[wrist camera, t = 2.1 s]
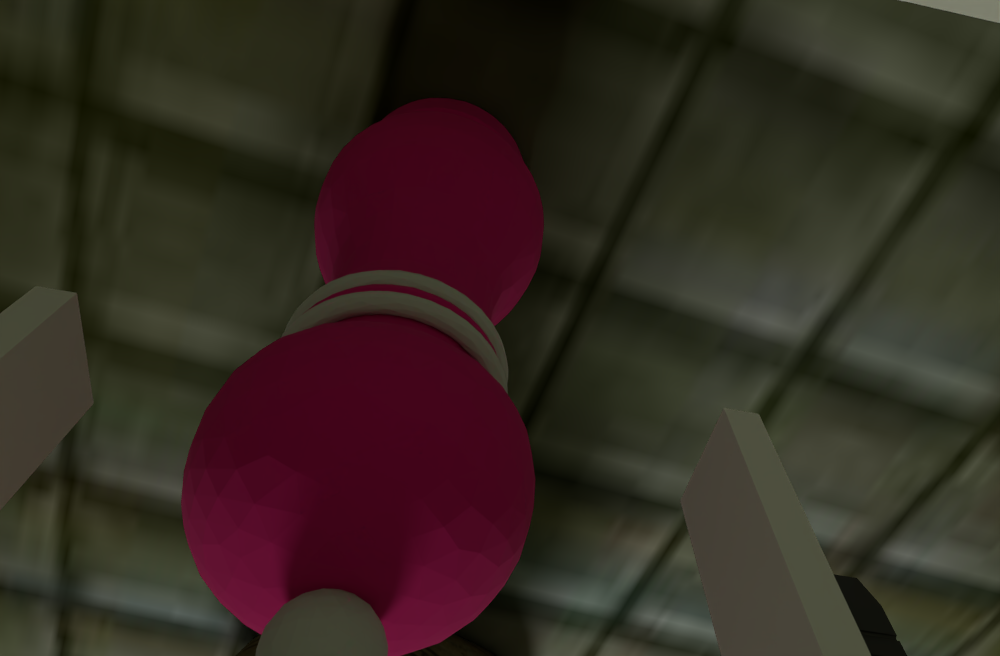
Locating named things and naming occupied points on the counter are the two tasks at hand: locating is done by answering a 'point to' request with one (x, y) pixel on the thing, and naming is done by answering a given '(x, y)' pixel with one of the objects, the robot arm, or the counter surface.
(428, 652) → the ceramic vessel
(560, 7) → the counter surface
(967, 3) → the tray
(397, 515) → the pepper mill
